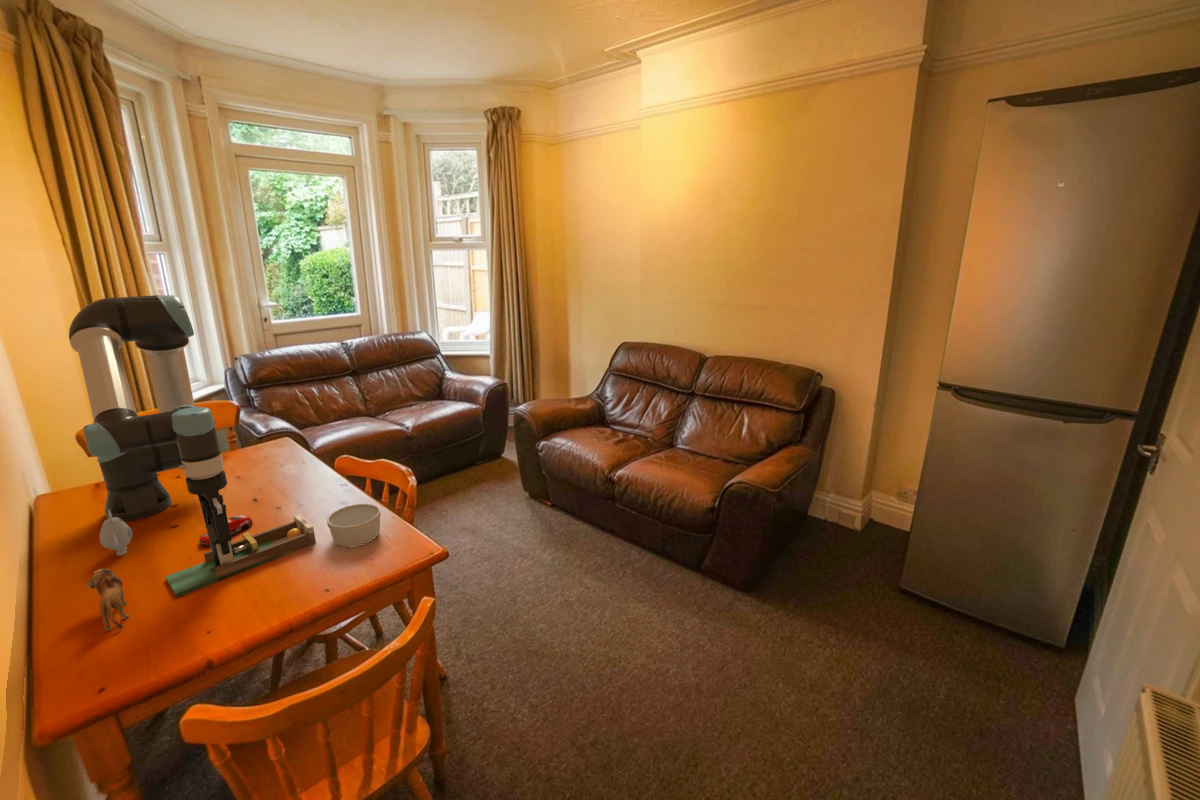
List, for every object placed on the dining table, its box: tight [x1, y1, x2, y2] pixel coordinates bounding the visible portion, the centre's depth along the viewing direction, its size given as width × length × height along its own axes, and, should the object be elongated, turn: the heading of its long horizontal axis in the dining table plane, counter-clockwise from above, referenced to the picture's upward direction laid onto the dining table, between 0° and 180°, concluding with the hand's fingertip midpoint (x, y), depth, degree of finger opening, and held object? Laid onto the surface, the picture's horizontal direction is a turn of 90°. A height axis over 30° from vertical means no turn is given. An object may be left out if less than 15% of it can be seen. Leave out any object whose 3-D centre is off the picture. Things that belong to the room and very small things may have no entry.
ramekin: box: [326, 503, 382, 548], centre depth 144 cm, size 13×13×7 cm
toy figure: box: [99, 510, 133, 557], centre depth 135 cm, size 11×6×12 cm, turn 41°
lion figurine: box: [85, 567, 131, 632], centre depth 113 cm, size 15×5×9 cm, turn 51°
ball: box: [287, 528, 302, 539], centre depth 142 cm, size 4×4×4 cm
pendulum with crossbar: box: [205, 522, 259, 567], centre depth 131 cm, size 7×9×11 cm
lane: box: [165, 514, 317, 598], centre depth 133 cm, size 10×30×5 cm, turn 139°
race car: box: [199, 514, 254, 547], centre depth 145 cm, size 13×5×4 cm, turn 157°
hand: (224, 560), depth 130 cm, fingers closed on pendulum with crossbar, 4 cm apart
